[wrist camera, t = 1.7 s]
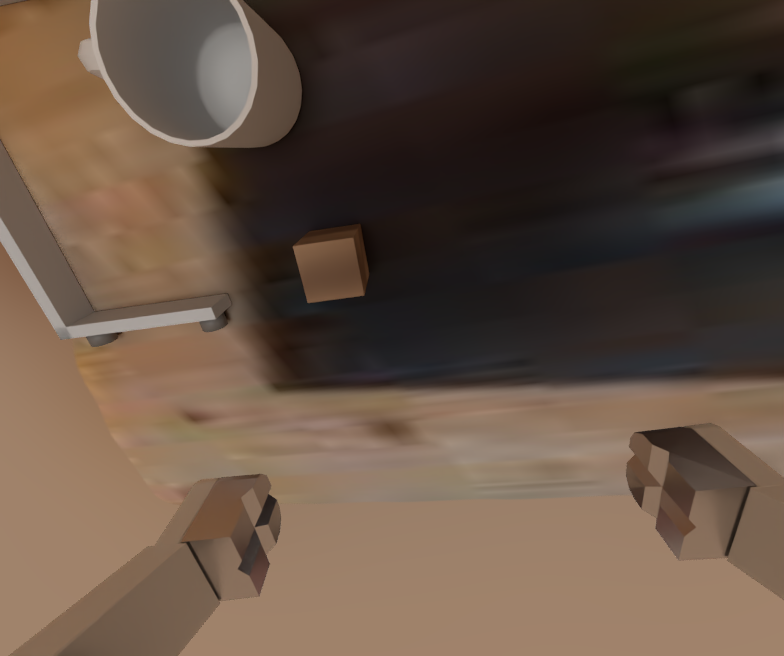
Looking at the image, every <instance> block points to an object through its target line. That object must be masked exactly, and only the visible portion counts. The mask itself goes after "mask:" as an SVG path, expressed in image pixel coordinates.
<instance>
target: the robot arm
mask: <svg viewBox="0 0 784 656" xmlns="http://www.w3.org/2000/svg"><path fill="white" fill-rule="evenodd" d="M629 448H630V449H631V450H632V451H633V452H634V454H635V455H634V456H633V457H632V458H631V459H630V460H629V461H628V462H627V468H626V477H627V482H628V486H629V489H630V491H631V493H632V495H633V497H634V499H635V500H636V502H637V503H638V505H639V506H640V507H641V509H642V510H644V511H646V512H647V513H649V514H651V515H652V516H654V517H656V530H657V531H658V533H659V534H660V535H661V537H662V538H663V540H664V541H665V542H666V544H667V545H668V547H669V548H670V549H671V550H672V552H673V553H674V555H675V556H676V558H677V559H678V560H680V561H681V560H697V559H716V558H728V559H727V561H728V562H730V563H731V564H733V565H734V566H736V567H737V568H739V569H740V570H741V571H743V572H744V573H746V574H747V575H749V576H750V577H752V578H753V579H755V580H756V581H757V582H759V583H760V584H761V585H763V586H764V587H766V588H767V589H769V590H770V591H772V592H773V593H774V594H776V595H777V596H779V597H780V598H782V599H783V600H784V478H783V477H782V476H781V475H780V474H778V473H777V472H776V471H775V470H773V469H772V468H771V467H770V466H768V465H767V464H766V463H765V462H763V461H762V460H761V459H760V458H758V457H757V456H756V455H755V454H753V453H752V452H751V451H750V450H748V449H747V448H746V447H744V446H743V445H742V444H741V443H739V442H738V441H737V440H736V439H734V438H733V437H732V436H731V435H729V434H728V433H727V432H726V431H724V430H723V429H722V428H721V427H719V426H717V425H714V424H712V423H707V424H699V425H691V426H684V427H676V428H667V429H659V430H651V431H642V432H634V434H633V435H632V436H631V438H630V444H629ZM270 488H271V484H270V482H269V479H268V477H267V475H264V474H256V475H244V476H232V477H221V478H215V479H202V480H200V481H198V482H197V483H195V484H194V485H193V487H192V488H191V490H190V491H189V493H188V494H187V496H186V498H185V499H184V501H183V502H182V504H181V505H180V507H179V508H178V510H177V512H176V513H175V515H174V516H173V518H172V519H171V521H170V522H169V524H168V525H167V527H166V529H165V530H164V532H163V533H162V535H161V536H160V538H159V540H158V541H157V543H156V544H155V546H150V547H146V548H145V549H144V550H143V551H141V552H140V553H139V554H137V555H136V556H135V557H134V558H132V559H131V560H130V561H129V562H127V563H126V564H125V565H123V566H122V567H121V568H120V569H118V570H117V571H116V572H115V573H113V574H112V575H111V576H109V577H108V578H107V579H106V580H104V581H103V582H102V583H100V584H99V585H98V586H97V587H95V588H94V589H93V590H92V591H91V592H89V593H88V594H87V595H85V596H84V597H83V598H81V599H80V600H79V601H78V602H76V603H75V604H74V605H72V606H71V607H70V608H69V609H67V610H66V611H65V612H64V613H62V614H61V615H60V616H58V617H57V618H56V619H55V620H53V621H52V622H51V623H50V624H48V625H47V626H46V627H45V628H43V629H42V630H41V631H40V632H38V633H37V634H36V635H34V636H33V637H32V638H30V639H29V640H28V641H27V642H25V643H24V644H23V645H22V646H20V647H19V648H18V649H16V650H15V651H14V652H13V653H11V654H10V655H9V656H178V655H179V654H180V652H181V651H182V650H183V649H184V648H185V646H186V645H187V644H188V643H189V641H190V640H191V639H192V638H193V636H194V635H195V634H196V633H197V632H198V630H199V629H200V628H201V627H202V625H203V624H204V623H205V622H206V620H207V619H208V618H209V617H210V615H211V614H212V613H213V612H214V611H215V609H216V608H217V607H218V606H219V604H220V602H219V601H225V600H234V599H241V598H250V597H258V596H260V593H261V589H262V586H263V584H264V580H265V577H266V574H267V571H268V568H269V565H270V563H269V561H268V558H267V555H266V554H267V553H268V552H269V551H270V550H271V549H272V548H273V547H274V546H275V545H276V543H277V540H278V536H279V533H280V525H281V514H280V507H279V504H278V502H277V500H276V499H275V498H273V497H272V496H271V495H269V494H268V493H269V491H270Z"/></svg>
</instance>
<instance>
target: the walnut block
mask: <svg viewBox="0 0 784 656" xmlns="http://www.w3.org/2000/svg"><path fill="white" fill-rule="evenodd" d="M293 249H294V253H295V256H296V260H297V264H298V268H299V271H300V275H301V279H302V283H303V287H304V290H305V294H306V298H307V302H308V303H312V302H319V301H327V300H334V299H342V298H349V297H357V296H364V295H365V290H366V286H367V282H368V277H369V269H368V264H367V258H366V253H365V247H364V241H363V236H362V230H361V225H360V224H355V225H348V226H342V227H335V228H328V229H322V230H315V231H309V232H308V233H307V234H306V235H305V236H304V237H303V238H301V239H300V240H299V241H298V242H297V243H296V244H295V245H294V246H293Z"/></svg>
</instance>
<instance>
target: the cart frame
mask: <svg viewBox="0 0 784 656" xmlns="http://www.w3.org/2000/svg"><path fill="white" fill-rule="evenodd" d="M21 1H25V0H0V6H2V5H6V4H11V3H16V2H21ZM0 241H1V243H2V245H3V246H4V248H5V249H6V251H7V253H8V254H9V256H10V257H11V259H12V261H13V262H14V264H15V266H16V267H17V269H18V271H19V272H20V274H21V275H22V277H23V279H24V280H25V282H26V284H27V285H28V287H29V289H30V290H31V292H32V293H33V295H34V297H35V298H36V300H37V302H38V303H39V305H40V306H41V308H42V310H43V311H44V313H45V315H46V316H47V318H48V320H49V321H50V323H51V324H52V326H53V328H54V329H55V331H56V333H57V334H58V336H59V337H60V339H61V340H62V339H70V338H78V337H85V336H86V338H87V340H88V341H89V343H90V345H91V346H92V347H97V346H102V345H105V344H108V343H110V342H112V341H114V340H116V339H117V338H118V335H117V333H116V332H123V331H131V330H138V329H146V328H153V327H161V326H168V325H176V324H183V323H191V322H198V321H199V322H200V325H201V327H202V330H203V331H204V332H212V331H216V330H219V329H221V328H223V327H225V326H226V325H227V324H228V322H227V319H226V317H225V314H224V311H225V310H226V309H227V308H228V307H230V306H231V305H232V304H231V301H230V298H229V296H228V293H227V294H220V295H213V296H205V297H198V298H191V299H184V300H176V301H169V302H162V303H155V304H147V305H140V306H133V307H126V308H119V309H111V310H104V311H97V312H94V310H93V308H92V307H91V305H90V303H89V301H88V299H87V298H86V296H85V294H84V292H83V290H82V288H81V287H80V285H79V283H78V281H77V279H76V277H75V276H74V274H73V272H72V270H71V268H70V266H69V265H68V263H67V261H66V259H65V257H64V256H63V254H62V252H61V250H60V248H59V246H58V245H57V243H56V241H55V239H54V237H53V235H52V234H51V232H50V230H49V228H48V226H47V224H46V223H45V221H44V219H43V217H42V215H41V213H40V212H39V210H38V208H37V206H36V204H35V203H34V201H33V199H32V197H31V195H30V193H29V192H28V190H27V188H26V186H25V184H24V182H23V181H22V179H21V177H20V175H19V173H18V171H17V170H16V168H15V166H14V164H13V162H12V161H11V159H10V157H9V155H8V153H7V151H6V150H5V148H4V146H3V144H2V142H1V140H0Z"/></svg>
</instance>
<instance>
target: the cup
mask: <svg viewBox="0 0 784 656" xmlns="http://www.w3.org/2000/svg"><path fill="white" fill-rule="evenodd" d="M89 25H90V33H91V38H89V39H86V40H83V41H81V42H80V46H79V52H78V57H79V59H80V60H81V62H82V63H83V65H84V66H85V68H86V69H87V71H88V72H90V73H91V74H93V75H95V76H98V77H100V78H102V79H104V80H105V82H106V83H107V85H108V87H109V89H110V90H111V92H112V94H113V96H114V97H115V99H116V100H117V101H118V102H119V104H120V105H121V106H122V107H123V108H124V109H125V111H126V112H127V113H128V114H129V115H130V117H131V118H132V119H134V120H135V121H136V122H137V123H139V124H140V125H141V126H142V127H144V128H145V129H146V130H148V131H149V132H150V133H152V134H154V135H156V136H158V137H160V138H162V139H164V140H166V141H168V142H170V143H175V144H180V145H184V146H189V147H229V148H254V147H264V146H268V145H270V144H273V143H275V142H278V141H279V140H280V139H282V138H283V137H284V136H285V135H286V134H287V133H289V131H290V130H291V128H292V127H293V125H294V124H295V122H296V120H297V117H298V114H299V111H300V108H301V99H302V86H301V79H300V73H299V70H298V67H297V65H296V62H295V59H294V57H293V55H292V53H291V52H290V50H289V49H288V47H287V46H286V44H285V43H284V41H283V40H282V38H281V37H280V36H279V35H278V34H277V33H276V32H275V31H274V30H273V29H272V28H271V27H270V26H269V25H268V24H267V23H266V22H265V21H264V20H263V19H262V18H261V17H260V16H259V15H258V14H256V13H255V12H254V11H253V10H252V9H251V8H250V7H249V6H248V5H247V4H246V3H245V2H244V1H243V0H91V8H90V19H89Z"/></svg>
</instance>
